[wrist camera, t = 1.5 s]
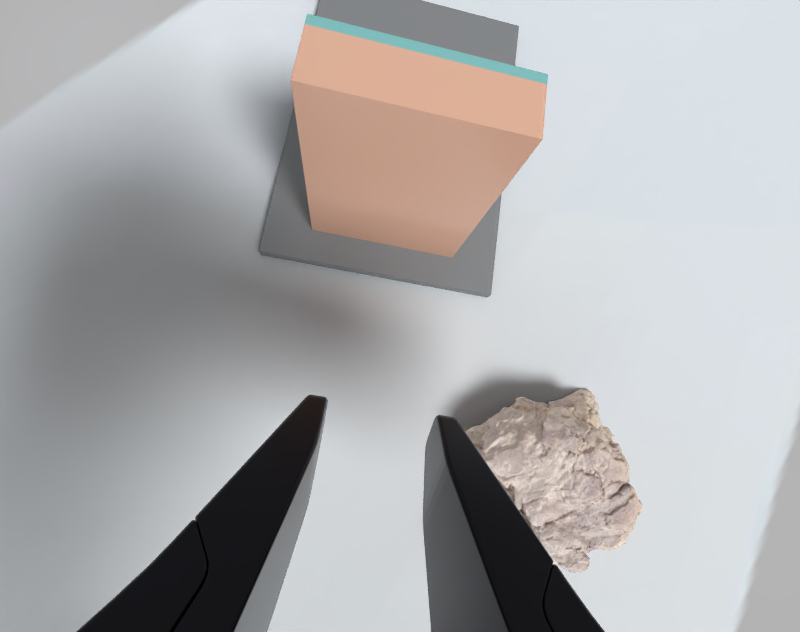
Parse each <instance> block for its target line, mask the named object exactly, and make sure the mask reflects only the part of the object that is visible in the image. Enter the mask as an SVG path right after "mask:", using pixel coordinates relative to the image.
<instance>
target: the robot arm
mask: <svg viewBox="0 0 800 632" xmlns="http://www.w3.org/2000/svg"><path fill="white" fill-rule="evenodd" d="M327 402H328V400H327V398H326V397H321V396H315V395H308V396H307V397H306V398H305V399H304V400H303V401H302V402H301V403H300V404H299V405H298V406H297V408H296V409H295V410H294V411H293V412H292V413H291V414H290V415H289V416H288V417H287V418H286V419H285V420H284V422H283V423H282V424H281V425H280V426H279V427H278V428H277V429H276V430H275V431H274V432H273V433H272V435H271V436H270V437H269V438H268V439H267V440H266V441H265V442H264V443H263V444H262V445H261V446H260V448H259V449H258V450H257V451H256V452H255V453H254V454H253V455H252V456H251V457H250V458H249V459H248V461H247V462H246V463H245V464H244V465H243V466H242V467H241V468H240V469H239V470H238V471H237V472H236V474H235V475H234V476H233V477H232V478H231V479H230V480H229V481H228V482H227V483H226V484H225V485H224V486H223V488H222V489H221V490H220V491H219V492H218V493H217V494H216V495H215V496H214V497H213V498H212V499H211V501H210V502H209V503H208V504H207V505H206V506H205V507H204V508H203V509H202V510H201V511H200V512H199V514H198V515H197V516H196V517H195V520H192V521H191V522H190V523H189V524H188V525H187V526H186V527H185V528H184V530H183V531H182V532H181V533H180V534H179V535H178V536H177V537H176V538H175V539H174V540H173V541H172V542H171V543H170V544H169V545H168V546H167V547H166V548H165V549H164V551H163V552H162V553H161V554H160V555H159V556H158V557H157V558H156V559H155V560H154V561H153V562H152V563H151V564H150V565H149V566H148V567H147V568H146V569H145V570H144V571H143V572H141V573H140V574H139V575H138V576H137V577H136V578H135V579H134V580H133V581H132V582H131V583H130V584H129V585H128V586H126V587H125V588H124V589H123V590H122V591H121V592H120V593H119V594H118V595H117V596H116V597H115V598H113V599H112V600H111V601H110V602H109V603H108V604H107V605H106V606H105V607H103V608H102V609H101V610H100V611H99V612H98V613H97V614H96V615H94V616H93V617H92V618H91V619H90V620H89V621H88V622H87V623H86V624H84V625H83V626H82V627H81V628H80V629H79V630H78V631H77V632H267V630H268V627H269V624H270V621H271V618H272V615H273V612H274V609H275V606H276V603H277V600H278V597H279V593H280V590H281V587H282V584H283V581H284V578H285V575H286V572H287V569H288V566H289V563H290V560H291V556H292V553H293V550H294V547H295V544H296V541H297V538H298V535H299V532H300V529H301V526H302V522H303V519H304V516H305V513H306V510H307V506H308V502H309V498H310V494H311V489H312V484H313V478H314V473H315V468H316V463H317V458H318V453H319V448H320V443H321V438H322V433H323V427H324V421H325V415H326V409H327ZM423 530H424V544H425V556H426V569H427V582H428V595H429V608H430V621H431V632H605V631H604V630H603V629H602V627H601V626H600V625H599V624H598V622H597V621H596V620H595V618H594V617H593V616H592V615H591V613H590V612H589V610H588V609H587V608H586V606H585V605H584V603H583V602H582V601H581V599H580V598H579V596H578V595H577V594H576V592H575V591H574V589H573V588H572V587H571V585H570V584H569V582H568V581H567V580H566V578H565V577H564V575H563V574H562V572H561V571H560V569H559V568H558V566H557V565H556V564H553V559H552V558H551V556H550V555H549V554H548V552H547V551H546V549H545V548H544V546H543V545H542V543H541V542H540V540H539V539H538V537H537V536H536V535H535V533H534V532H533V530H532V529H531V527H530V526H529V524H528V523H527V521H526V520H525V518H524V517H523V516H522V514H521V513H520V511H519V510H518V508H517V507H516V505H515V504H514V502H513V501H512V499H511V498H510V497H509V495H508V494H507V492H506V491H505V489H504V488H503V486H502V485H501V483H500V482H499V480H498V479H497V478H496V476H495V475H494V473H493V472H492V470H491V469H490V467H489V466H488V464H487V463H486V461H485V460H484V459H483V457H482V456H481V454H480V453H479V451H478V450H477V448H476V447H475V445H474V444H473V442H472V441H471V440H470V438H469V437H468V435H467V434H466V432H465V431H464V429H463V428H462V426H461V425H460V424H459V422H458V421H457V419H455V418H454V417H449V416H442V415H438V416H436V418H435V419H434V422H433V425H432V428H431V430H430V433H429V436H428V439H427V443H426V449H425V471H424V499H423Z"/></svg>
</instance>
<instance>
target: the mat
mask: <svg viewBox="0 0 800 632" xmlns="http://www.w3.org/2000/svg"><path fill="white" fill-rule="evenodd" d="M316 16H319V17H323V18H327V19H331V20H335V21H339V22H343V23H347V24H350V25H354V26H358V27H362V28H366V29H370V30H374V31H378V32H382V33H386V34H390V35H394V36H398V37H402V38H406V39H410V40H414V41H418V42H422V43H426V44H430V45H434V46H438V47H442V48H446V49H450V50H454V51H458V52H462V53H465V54H469V55H473V56H477V57H481V58H485V59H489V60H493V61H497V62H501V63H505V64H509V65H513V66H515V58H516V49H517V39H518V29H519V26H517V25H513V24H509V23H505V22H502V21H498V20H494V19H490V18H486V17H483V16H479V15H475V14H471V13H467V12H464V11H460V10H456V9H452V8H448V7H445V6H441V5H437V4H433V3H429V2H425V1H422V0H320V2H319V6H318V10H317V14H316ZM500 203H501V194H500V196H499V197H498V198H497V200H496V201H495V202H494V203H493V205H492V206H491V207H490V209H489V210H488V211H487V213H486V214H485V215H484V217H483V218H482V219H481V220H480V222H479V223H478V224H477V226H476V227H475V228H474V230H473V231H472V232H471V234H470V235H469V236H468V238H467V239H466V240H465V241H464V243H463V244H462V245H461V247H460V248H459V249H458V251H457V252H456V253H455V255H454V256H453V257H447V256H441V255H436V254H431V253H426V252H421V251H416V250H411V249H406V248H401V247H396V246H391V245H386V244H381V243H376V242H371V241H366V240H361V239H356V238H351V237H346V236H341V235H335V234H330V233H325V232H320V231H315V230H312V226H311V219H310V212H309V205H308V198H307V191H306V184H305V177H304V170H303V163H302V156H301V149H300V142H299V135H298V128H297V121H296V114H295V107H294V108H293V112H292V116H291V121H290V125H289V129H288V133H287V137H286V141H285V145H284V149H283V153H282V157H281V162H280V166H279V170H278V174H277V178H276V182H275V186H274V190H273V194H272V198H271V203H270V207H269V211H268V215H267V219H266V223H265V227H264V231H263V235H262V239H261V244H260V248H259V252H260V254H261V255H267V256H272V257H277V258H282V259H288V260H293V261H298V262H303V263H309V264H314V265H319V266H325V267H330V268H335V269H340V270H346V271H351V272H356V273H362V274H367V275H372V276H377V277H383V278H388V279H393V280H398V281H404V282H409V283H414V284H420V285H425V286H430V287H435V288H441V289H446V290H451V291H456V292H462V293H467V294H472V295H478V296H483V297H488V296H490V295H491V289H492V280H493V270H494V260H495V251H496V241H497V231H498V222H499V212H500Z"/></svg>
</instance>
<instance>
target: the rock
mask: <svg viewBox="0 0 800 632" xmlns="http://www.w3.org/2000/svg"><path fill="white" fill-rule="evenodd" d="M597 410H598V404H597V403H596V401H595V398H594V395H593V394H592V393H591V391H589V390H584V389H579V390H577V391H575V392H574V393H571V394H569V395H567V396H566V397H564V398H562V399H558V400H556V401H553V402H550V401H549V402H548V404H546V403H543V402H536V401H531V400H530V399H527V398H525V397H518V398H516V399H515V402H514V404H512V405H511V406H510V407H504V408H502V409H501V411H500V412H498V413H497V414H495V415H494V416H492V417H491V418H489V419H488V420H487V421H485V422H484V423H483V424H481V425H477V426H473V427H471V428H469V429H468V430H466V431H465V432H466V434H467V435H468V437H469V438H470V440H471V441H472V442H473V444H474V445H475V447H476V448H477V450H478V451H479V453H480V454H481V456H482V457H483V459H484V460H485V461H486V463H487V464H488V466H489V467H490V469H491V470H492V472H493V473H494V475H495V476H496V478H497V479H498V480H499V482H500V483H501V485H502V486H503V488H504V489H505V491H506V492H507V494H508V495H509V497H510V498H511V499H512V501H513V502H514V504H515V505H516V507H517V508H518V510H519V511H520V513H521V514H522V516H523V517H524V518H525V520H526V521H527V523H528V524H529V526H530V527H531V529H532V530H533V532H534V533H535V535H536V536H537V537H538V539H539V540H540V542H541V543H542V545H543V546H544V548H545V549H546V551H547V552H548V554H549V555H550V556H551V558H552V559H553V564H556V565H559V566H561V567H562V568H564V569H566V570H568V571H570V572H584V571H585V570H586V569H587V567H588V566H589V562H590V561H589V557H588V556H587V555H586V553H588V552H589V551H591V550H593V549H602V550H604V549H608V550H614V549H615V548H617V547H619V546H622V545H623V544H625V542H626V541H627V538H628V535H629V533H630V532H631V531H632V530H633V526H635V522H636V518H637V516H638V515H639V514H640V513H641V512H642V509H643V507H642V506H643V505H642V503H641V501H640V500H639V499H638V497H637V494H636V493H635V489H634V488H633V487H632V486H631V485H630V484H628V482H629V464H628V463H627V461H626V459H625V457H624V456H623V454H622V451H621V448H620V445H619V444H618V443H614V442H613V440H614V438H613V437H614V435H613V434H612V433H611V431H610V430H609V429H608V428H607V427H603V426H602V425H601V421H600V418H598V414H599V413H598V411H597Z"/></svg>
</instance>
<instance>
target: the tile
mask: <svg viewBox="0 0 800 632" xmlns="http://www.w3.org/2000/svg"><path fill="white" fill-rule="evenodd" d="M547 78H548V74H545V73H541V72H537V71H533V70H529V69H525V68H521V67H517V66H513V65H509V64H505V63H501V62H497V61H493V60H489V59H485V58H481V57H477V56H473V55H469V54H465V53H462V52H458V51H454V50H450V49H446V48H442V47H438V46H434V45H430V44H426V43H422V42H418V41H414V40H410V39H406V38H402V37H398V36H394V35H390V34H386V33H382V32H378V31H374V30H370V29H366V28H362V27H358V26H354V25H350V24H347V23H343V22H339V21H335V20H331V19H327V18H323V17H319V16H315V15H311V14H307V16H306V20H305V24H304V28H303V32H302V36H301V40H300V44H299V48H298V52H297V56H296V60H295V64H294V68H293V72H292V76H291V86H292V93H293V100H294V107H295V114H296V121H297V128H298V135H299V142H300V149H301V156H302V163H303V170H304V177H305V184H306V191H307V198H308V205H309V212H310V219H311V226H312V230H315V231H320V232H325V233H330V234H335V235H341V236H346V237H351V238H356V239H361V240H366V241H371V242H376V243H381V244H386V245H391V246H396V247H401V248H406V249H411V250H416V251H421V252H426V253H431V254H436V255H441V256H447V257H453V256H454V255H455V253H456V252H457V251H458V249H459V248H460V247H461V245H462V244H463V243H464V241H465V240H466V239H467V238H468V236H469V235H470V234H471V232H472V231H473V230H474V228H475V227H476V226H477V224H478V223H479V222H480V220H481V219H482V218H483V217H484V215H485V214H486V213H487V211H488V210H489V209H490V207H491V206H492V205H493V203H494V202H495V201H496V200H497V198H498V197H499V196H500V194H501V193H502V192H503V190H504V189H505V188H506V186H507V185H508V184H509V182H510V181H511V180H512V179H513V177H514V176H515V175H516V173H517V172H518V171H519V169H520V168H521V167H522V165H523V164H524V163H525V162H526V160H527V159H528V158H529V156H530V155H531V154H532V152H533V151H534V150H535V148H536V147H537V146H538V144H539V143H540V142H541V141H542V139H543V127H544V115H545V103H546V91H547Z"/></svg>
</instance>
